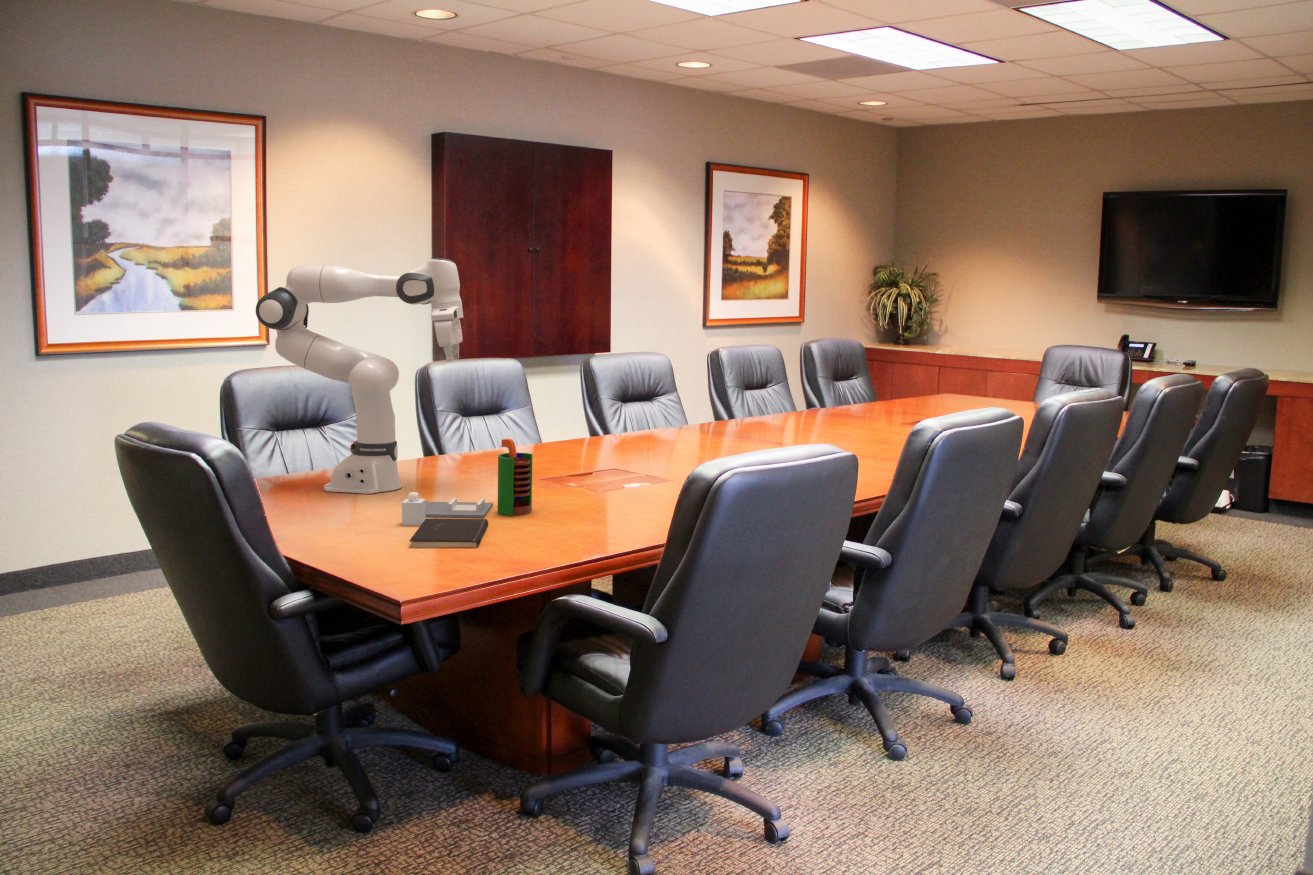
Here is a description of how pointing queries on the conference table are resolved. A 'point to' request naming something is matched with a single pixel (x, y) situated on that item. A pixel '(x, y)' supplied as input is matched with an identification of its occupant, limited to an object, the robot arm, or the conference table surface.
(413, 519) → the white cube with knob
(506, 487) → the motor
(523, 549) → the conference table surface
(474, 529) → the hardcover book
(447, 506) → the mounting plate
